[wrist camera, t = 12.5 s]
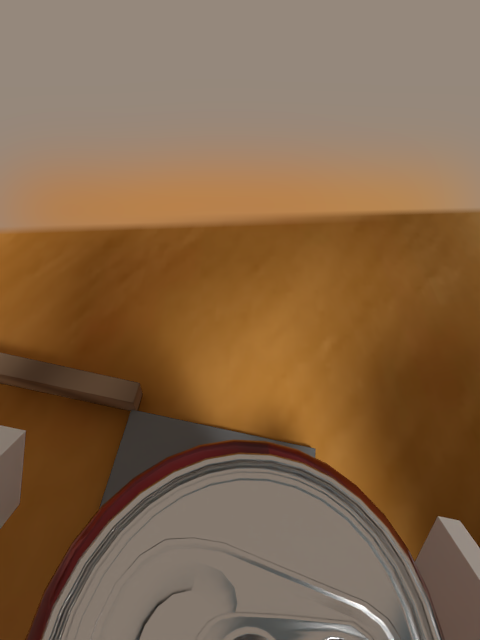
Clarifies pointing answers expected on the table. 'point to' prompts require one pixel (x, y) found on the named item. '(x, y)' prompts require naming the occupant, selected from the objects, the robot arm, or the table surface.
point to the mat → (165, 445)
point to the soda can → (237, 557)
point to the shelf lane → (69, 382)
